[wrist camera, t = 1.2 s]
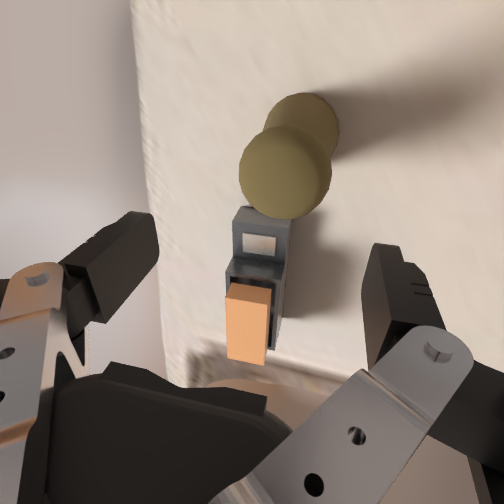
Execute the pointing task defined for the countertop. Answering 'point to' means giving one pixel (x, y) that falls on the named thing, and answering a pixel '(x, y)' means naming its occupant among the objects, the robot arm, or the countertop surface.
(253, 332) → the orange button
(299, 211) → the cork
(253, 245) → the grey slotted housing
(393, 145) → the countertop surface
